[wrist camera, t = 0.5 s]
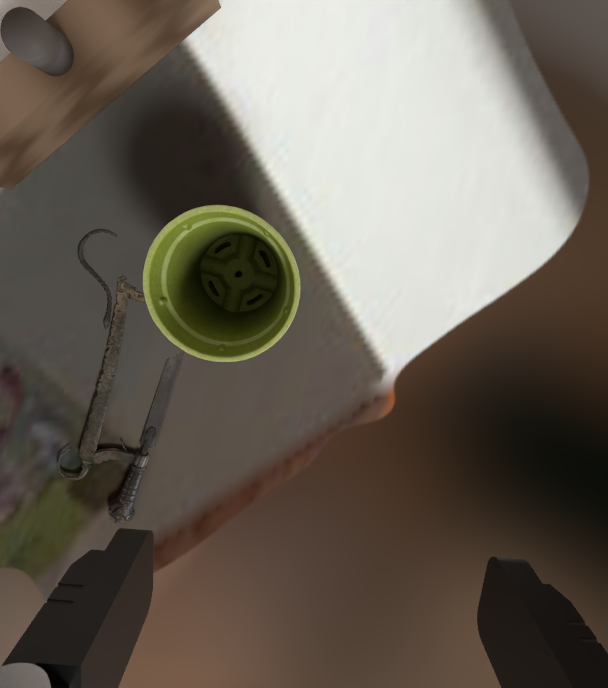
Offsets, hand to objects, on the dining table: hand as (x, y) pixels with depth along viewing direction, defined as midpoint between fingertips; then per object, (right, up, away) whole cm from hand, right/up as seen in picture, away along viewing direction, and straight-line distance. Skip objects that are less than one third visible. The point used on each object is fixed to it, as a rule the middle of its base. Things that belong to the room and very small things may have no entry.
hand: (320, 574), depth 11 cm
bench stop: (-15, +24, +22) cm, 36 cm away
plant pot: (-5, +11, +26) cm, 28 cm away
